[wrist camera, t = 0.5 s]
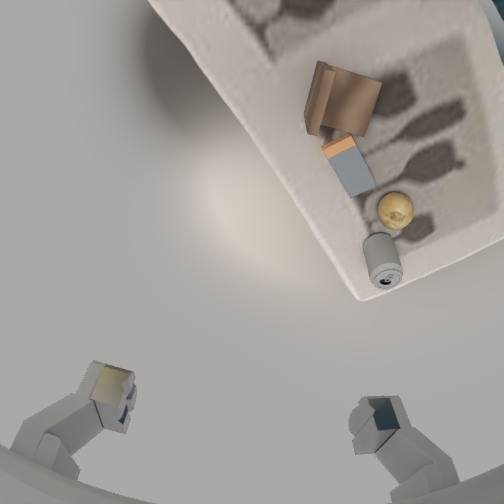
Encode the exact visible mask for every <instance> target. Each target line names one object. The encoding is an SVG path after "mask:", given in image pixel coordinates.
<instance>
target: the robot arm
mask: <svg viewBox="0 0 504 504" xmlns="http://www.w3.org/2000/svg"><path fill="white" fill-rule="evenodd" d="M134 380H135V374H134V372H133V371H130V370H126V369H122V368H119V367H115V366H112V365H108V364H105V363H101V362H98V361H95V360H93V361H92V362H91V363H90V365H89V367H88V369H87V371H86V373H85V375H84V377H83V379H82V381H81V383H80V385H79V387H78V390H77V391H76V393H75V394H73V393H71V394H69V395H68V396H66V397H64V398H63V399H61V400H59V401H57V402H56V403H54V404H52V405H51V406H49V407H47V408H45V409H43V410H42V411H40V412H38V413H37V414H35V415H33V416H31V417H29V418H28V419H26V420H24V421H23V423H22V425H21V427H20V429H19V431H18V433H17V435H16V437H15V439H14V441H13V444H12V446H11V448H10V449H8V448H6V447H5V446H3V445H1V444H0V504H155V503H150V502H146V501H142V500H138V499H133V498H129V497H126V496H122V495H119V494H115V493H112V492H109V491H106V490H103V489H99V488H96V487H93V486H91V485H88V484H85V483H82V482H80V481H77V479H78V476H79V473H80V469H79V467H78V465H77V464H76V462H75V461H74V460H73V458H72V457H71V456H72V455H73V454H74V453H75V452H77V451H78V450H79V449H80V448H82V447H83V446H84V445H85V444H87V443H88V442H89V441H90V440H91V439H93V438H94V437H95V436H96V435H97V434H99V433H100V432H101V431H102V430H103V428H105V429H108V430H112V431H116V432H120V433H124V434H126V432H127V429H128V425H129V422H130V415H129V412H130V411H132V410H133V409H134V405H135V402H136V396H137V388H136V385H135V384H134ZM358 403H359V406H358V407H356V408H355V409H353V411H352V413H351V414H350V417H349V429H350V432H351V433H352V434H353V435H354V438H353V440H352V442H353V446H354V451H355V454H356V455H357V454H372V453H375V454H374V455H375V456H376V457H377V458H378V459H379V460H380V462H381V463H382V464H383V465H384V466H385V468H386V469H387V470H388V471H389V472H390V473H391V475H392V476H393V477H394V478H395V479H396V480H397V482H398V483H399V484H400V485H399V486H398V487H396V488H395V489H393V490H392V491H391V493H390V495H391V500H392V503H389V504H504V464H502V465H500V466H498V467H496V468H494V469H491V470H489V471H487V472H485V473H483V474H480V475H478V476H475V477H473V478H470V479H468V480H465V481H463V482H460V481H459V478H458V475H457V472H456V469H455V466H454V464H453V461H452V459H451V457H449V456H448V455H447V454H446V453H445V452H443V451H442V450H441V449H440V448H439V447H437V446H436V445H435V444H434V443H433V442H432V441H430V440H429V439H428V438H427V437H426V436H424V435H423V434H422V433H421V432H420V431H418V430H417V429H416V428H415V427H411V424H410V421H409V419H408V416H407V414H406V411H405V409H404V406H403V404H402V401H401V399H400V397H399V396H371V397H370V396H369V397H363V398H361V399H360V401H359V402H358Z"/></svg>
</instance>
